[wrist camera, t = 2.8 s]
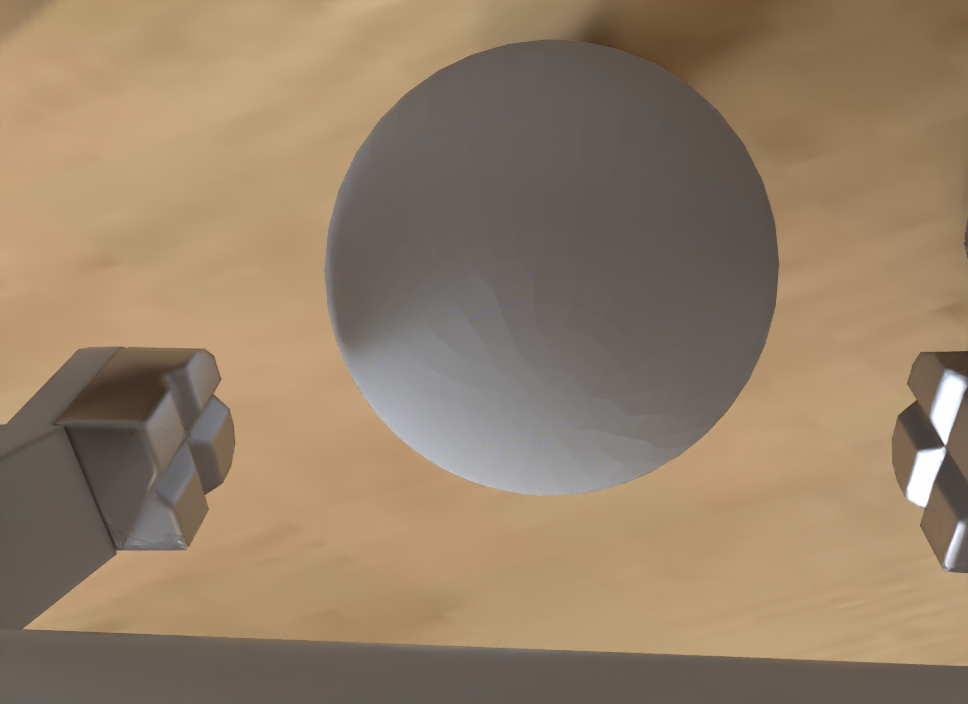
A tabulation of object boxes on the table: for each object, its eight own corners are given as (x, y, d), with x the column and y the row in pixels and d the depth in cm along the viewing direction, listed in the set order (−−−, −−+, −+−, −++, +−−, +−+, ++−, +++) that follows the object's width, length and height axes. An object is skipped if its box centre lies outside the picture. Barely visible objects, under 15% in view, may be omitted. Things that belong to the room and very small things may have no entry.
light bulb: (748, 141, 17) (941, 460, 8) (523, 289, 19) (497, 653, 11) (585, -116, 14) (626, -27, 6) (351, 88, 17) (147, 355, 8)
